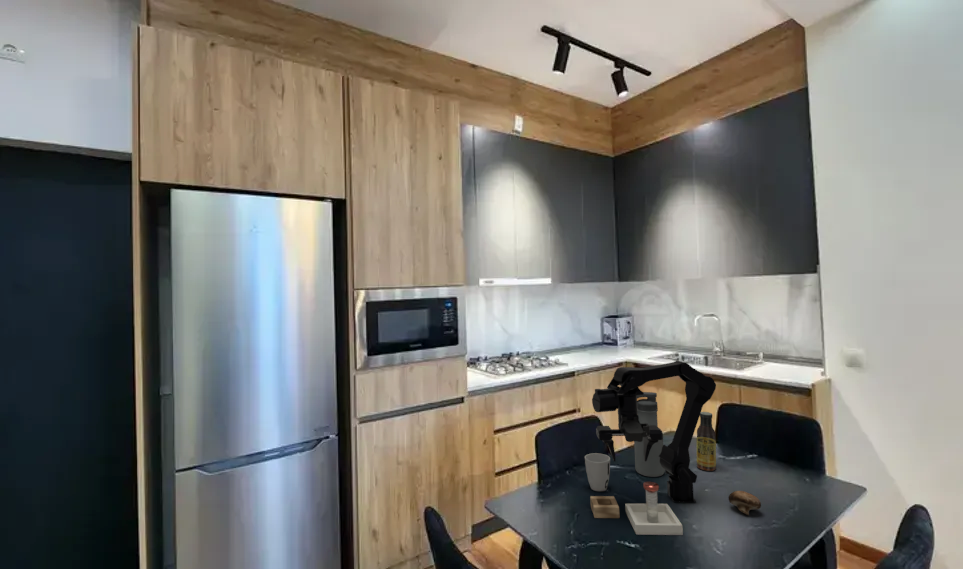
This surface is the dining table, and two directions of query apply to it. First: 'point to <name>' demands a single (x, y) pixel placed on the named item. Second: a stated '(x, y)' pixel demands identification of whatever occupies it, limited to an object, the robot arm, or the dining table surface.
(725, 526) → the dining table surface
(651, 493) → the red capped tube
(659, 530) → the tray
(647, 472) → the water bottle
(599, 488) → the cup
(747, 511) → the mushroom
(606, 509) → the block
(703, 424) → the sauce bottle
